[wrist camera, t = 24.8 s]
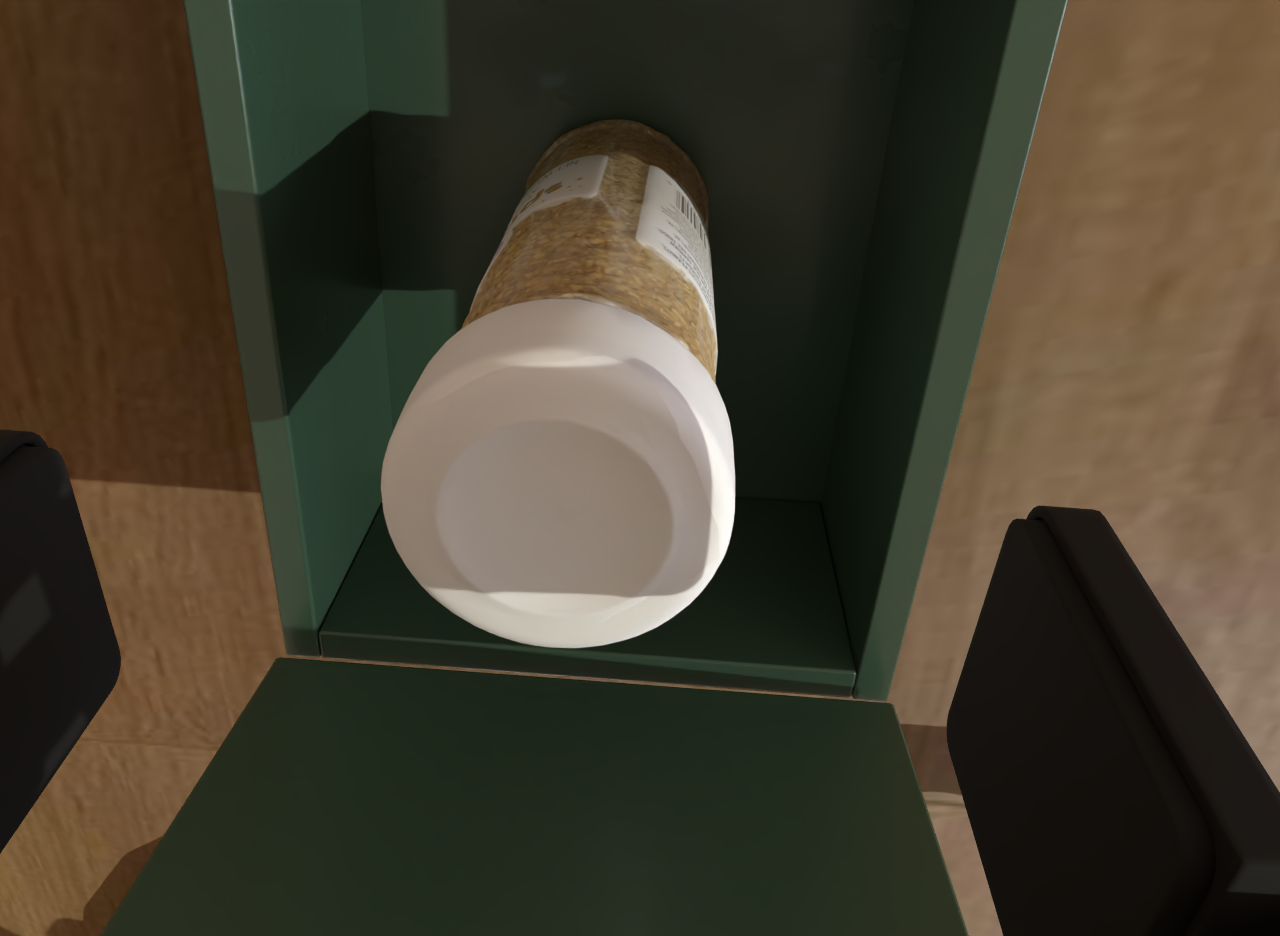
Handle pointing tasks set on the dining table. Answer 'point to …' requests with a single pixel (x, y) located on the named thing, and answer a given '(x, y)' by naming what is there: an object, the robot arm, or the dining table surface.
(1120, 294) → the dining table surface
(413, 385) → the bin
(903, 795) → the bin lid
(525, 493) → the sprinkles bottle
